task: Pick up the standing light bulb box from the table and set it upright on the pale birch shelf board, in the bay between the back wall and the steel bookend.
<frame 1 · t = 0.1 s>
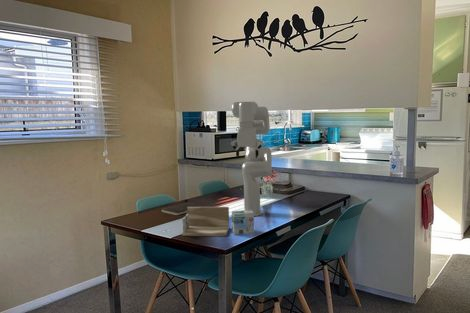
hand: (247, 157, 218), 37 cm above the table, tool pointing down, fingers open, 9 cm apart
shelf: (206, 231, 212), on the table
light bulb box: (243, 232, 210), on the table
hardcover book: (183, 210, 262), on the table
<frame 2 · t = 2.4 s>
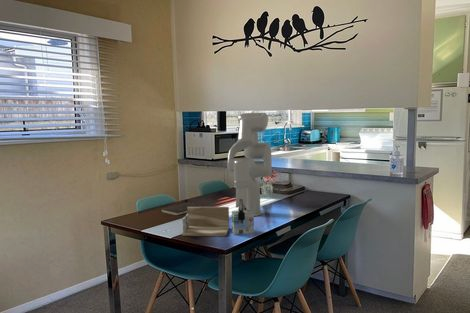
hand: (242, 217, 209), 8 cm above the table, tool pointing down, fingers open, 9 cm apart
nothing on the table moved.
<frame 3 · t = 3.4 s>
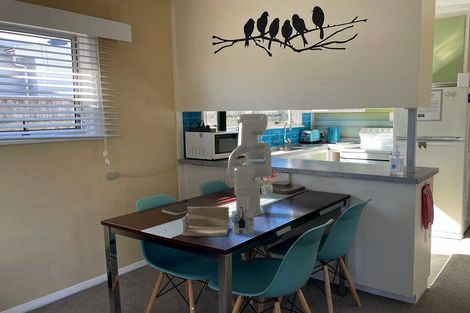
hand: (242, 225, 210), 4 cm above the table, tool pointing down, fingers closed on light bulb box, 8 cm apart
light bulb box: (243, 232, 210), on the table, touching gripper
everything else where it was.
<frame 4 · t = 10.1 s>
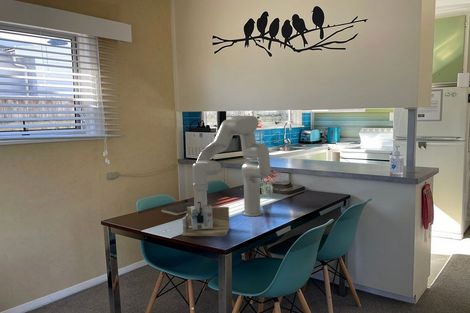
hand: (202, 220, 211), 6 cm above the table, tool pointing down, fingers closed on light bulb box, 8 cm apart
light bulb box: (202, 227, 212), point 2 cm above the table, touching gripper
everything else where it was.
when the fingers open (6 cm above the table, at t = 10.4 s): light bulb box drops 1 cm, resting on shelf.
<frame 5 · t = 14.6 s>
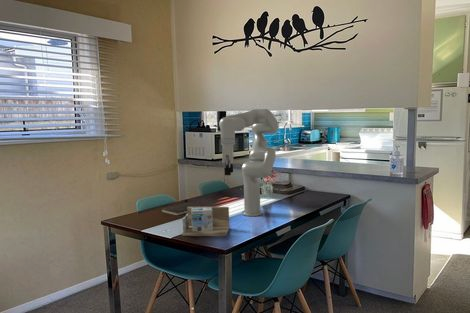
hand: (228, 173, 220), 28 cm above the table, tool pointing down, fingers open, 9 cm apart
light bulb box: (202, 229, 212), point 1 cm above the table, touching shelf
everything else where it was.
at the end: light bulb box inside the target area on the shelf (0.4 cm from its centre), point 1.3 cm above the shelf's base; light bulb box tilted 0°; the gripper is holding nothing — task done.
